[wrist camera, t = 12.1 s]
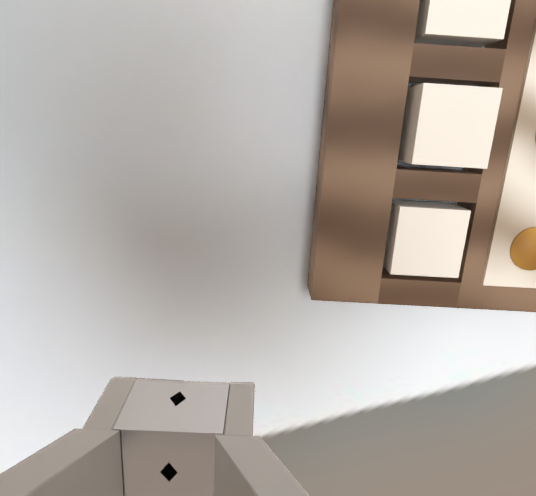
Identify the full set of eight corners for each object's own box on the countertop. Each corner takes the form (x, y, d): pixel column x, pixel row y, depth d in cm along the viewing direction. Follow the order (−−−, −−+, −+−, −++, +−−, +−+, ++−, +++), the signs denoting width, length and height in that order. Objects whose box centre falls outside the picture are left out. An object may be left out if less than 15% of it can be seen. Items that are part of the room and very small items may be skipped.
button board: (341, -87, 28) (352, -116, 25) (640, -65, 29) (690, -90, 26) (307, 285, 35) (312, 302, 32) (548, 298, 36) (577, 316, 33)
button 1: (388, 199, 33) (400, 206, 30) (453, 203, 33) (471, 210, 30) (379, 261, 34) (390, 274, 32) (442, 265, 35) (458, 277, 32)
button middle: (408, 86, 30) (423, 82, 27) (479, 91, 30) (503, 88, 27) (398, 160, 31) (411, 164, 28) (466, 164, 31) (487, 168, 28)
